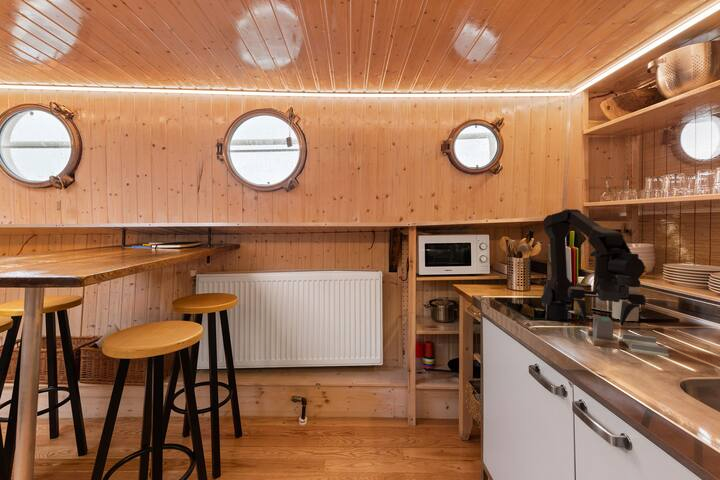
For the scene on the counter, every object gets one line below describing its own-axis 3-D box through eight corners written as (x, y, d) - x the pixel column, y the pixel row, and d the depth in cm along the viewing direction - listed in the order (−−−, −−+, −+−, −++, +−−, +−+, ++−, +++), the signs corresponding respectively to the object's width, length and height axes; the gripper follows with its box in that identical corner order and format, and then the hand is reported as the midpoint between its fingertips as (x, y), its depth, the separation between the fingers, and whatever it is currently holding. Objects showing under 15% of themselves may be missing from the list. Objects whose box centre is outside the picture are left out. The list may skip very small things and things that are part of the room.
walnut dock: (594, 346, 99) (594, 340, 99) (587, 334, 110) (587, 328, 110) (619, 350, 96) (619, 343, 96) (609, 337, 107) (609, 331, 107)
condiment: (582, 310, 139) (583, 282, 138) (600, 316, 131) (602, 286, 130) (567, 311, 138) (568, 283, 137) (585, 317, 129) (587, 287, 129)
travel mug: (630, 323, 122) (633, 274, 121) (607, 317, 130) (609, 271, 129) (642, 320, 126) (645, 273, 125) (619, 315, 133) (622, 270, 132)
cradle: (632, 352, 95) (632, 344, 95) (621, 339, 106) (621, 332, 106) (668, 357, 91) (669, 349, 91) (653, 343, 102) (653, 336, 102)
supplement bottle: (554, 309, 141) (555, 281, 140) (538, 305, 147) (539, 278, 146) (563, 307, 144) (565, 280, 143) (548, 304, 150) (549, 277, 149)
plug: (596, 343, 101) (597, 317, 101) (592, 337, 106) (593, 312, 106) (612, 345, 99) (613, 319, 99) (607, 339, 105) (609, 314, 104)
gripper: (573, 273, 99) (570, 325, 100) (654, 279, 90) (650, 335, 91) (568, 269, 109) (566, 316, 110) (641, 273, 100) (638, 324, 101)
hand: (602, 322), depth 103 cm, fingers open, 9 cm apart
